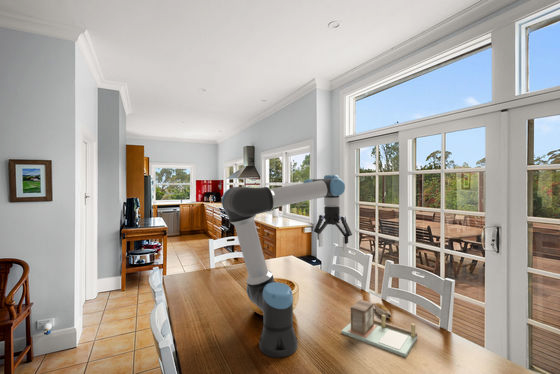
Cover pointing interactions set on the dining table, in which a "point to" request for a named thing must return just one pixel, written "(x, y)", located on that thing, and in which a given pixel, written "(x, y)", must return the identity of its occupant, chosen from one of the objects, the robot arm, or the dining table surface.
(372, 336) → the ledge board
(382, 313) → the stone
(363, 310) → the frame block
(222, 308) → the dining table surface
